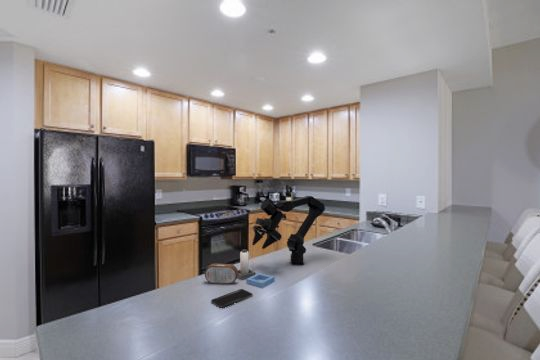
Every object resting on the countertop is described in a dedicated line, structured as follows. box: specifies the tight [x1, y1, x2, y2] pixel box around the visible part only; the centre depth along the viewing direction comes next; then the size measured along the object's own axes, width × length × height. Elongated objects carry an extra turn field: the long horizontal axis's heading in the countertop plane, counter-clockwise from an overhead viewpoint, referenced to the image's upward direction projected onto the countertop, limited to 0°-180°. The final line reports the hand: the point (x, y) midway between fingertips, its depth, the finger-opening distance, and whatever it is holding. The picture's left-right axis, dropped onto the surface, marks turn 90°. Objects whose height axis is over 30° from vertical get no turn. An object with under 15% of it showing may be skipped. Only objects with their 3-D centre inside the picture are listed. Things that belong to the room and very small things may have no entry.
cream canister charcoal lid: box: [239, 248, 250, 275], centre depth 124 cm, size 4×4×12 cm
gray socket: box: [237, 268, 257, 281], centre depth 124 cm, size 8×8×2 cm
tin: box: [204, 263, 239, 285], centre depth 116 cm, size 15×3×8 cm, turn 84°
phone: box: [210, 288, 254, 309], centre depth 99 cm, size 8×1×15 cm
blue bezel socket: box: [245, 272, 276, 289], centre depth 116 cm, size 9×9×2 cm
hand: (257, 246), depth 128 cm, fingers open, 9 cm apart
